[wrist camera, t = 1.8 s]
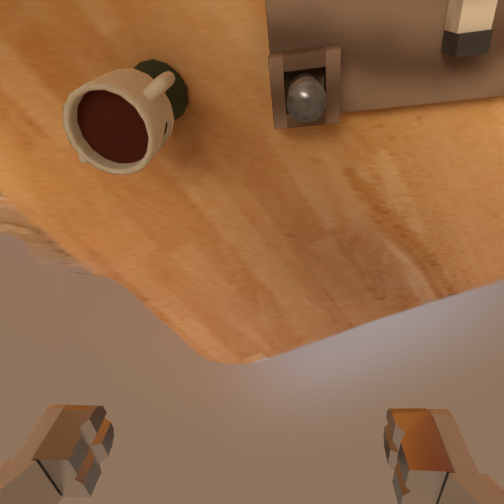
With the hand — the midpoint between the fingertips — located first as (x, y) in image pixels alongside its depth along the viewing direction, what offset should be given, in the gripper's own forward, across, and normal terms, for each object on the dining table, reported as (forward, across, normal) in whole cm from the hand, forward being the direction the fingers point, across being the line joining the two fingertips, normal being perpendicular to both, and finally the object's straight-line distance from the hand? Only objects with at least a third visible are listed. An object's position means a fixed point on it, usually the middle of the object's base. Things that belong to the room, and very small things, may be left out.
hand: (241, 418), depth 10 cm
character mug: (+34, +12, -6) cm, 36 cm away
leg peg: (+29, -3, -5) cm, 29 cm away
